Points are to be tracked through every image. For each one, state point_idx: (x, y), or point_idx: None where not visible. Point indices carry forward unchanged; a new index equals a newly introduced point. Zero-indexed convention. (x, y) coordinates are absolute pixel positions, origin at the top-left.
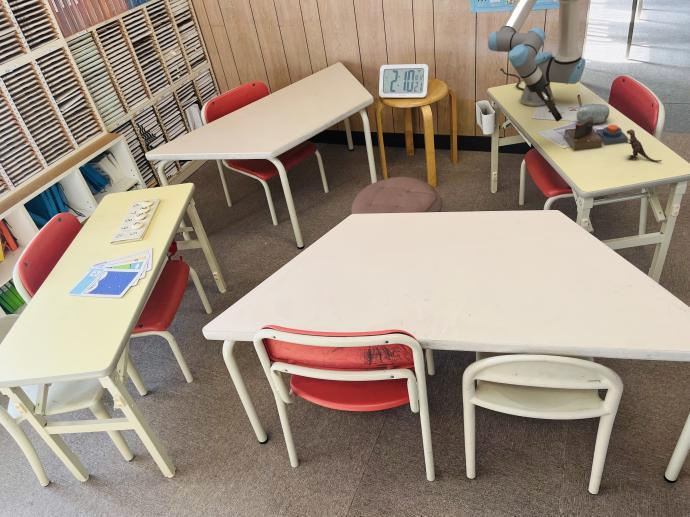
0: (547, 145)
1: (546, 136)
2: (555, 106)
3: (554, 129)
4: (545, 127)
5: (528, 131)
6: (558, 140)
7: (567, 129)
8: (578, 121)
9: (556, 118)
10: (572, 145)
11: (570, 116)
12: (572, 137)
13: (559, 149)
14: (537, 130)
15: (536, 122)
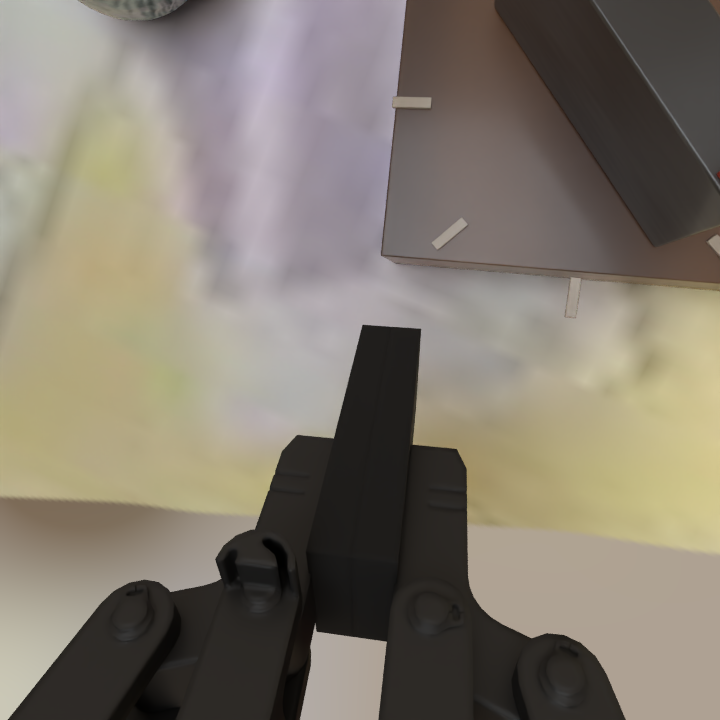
0: (506, 477)
1: (320, 406)
2: (431, 626)
3: (210, 283)
4: (146, 340)
5: (170, 504)
6: (445, 341)
7: (388, 227)
8: (156, 17)
9: (412, 434)
10: (683, 286)
11: (12, 47)
12: (622, 257)
13: (643, 413)
14: (178, 427)
15: (31, 370)
